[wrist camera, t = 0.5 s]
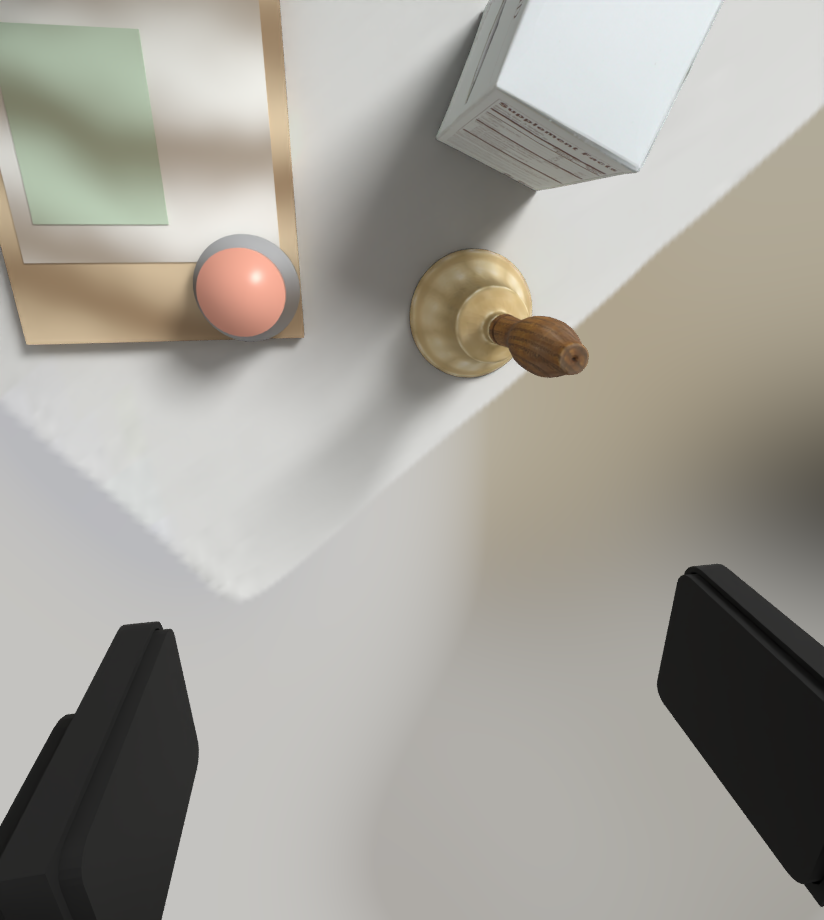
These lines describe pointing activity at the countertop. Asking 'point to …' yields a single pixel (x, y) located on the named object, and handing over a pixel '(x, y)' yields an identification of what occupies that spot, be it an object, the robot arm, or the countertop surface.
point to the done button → (241, 291)
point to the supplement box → (573, 85)
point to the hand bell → (487, 320)
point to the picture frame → (141, 163)
